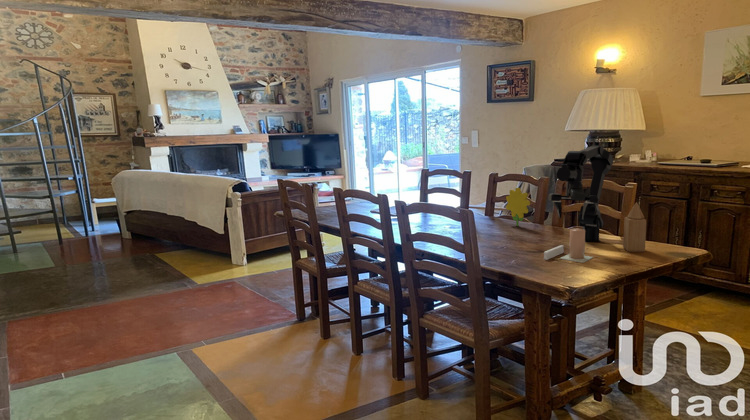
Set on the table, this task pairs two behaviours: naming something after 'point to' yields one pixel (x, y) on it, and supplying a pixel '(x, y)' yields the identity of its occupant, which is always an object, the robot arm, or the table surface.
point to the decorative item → (517, 204)
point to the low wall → (553, 252)
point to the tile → (577, 259)
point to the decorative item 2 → (634, 230)
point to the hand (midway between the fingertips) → (571, 218)
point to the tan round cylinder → (577, 243)
